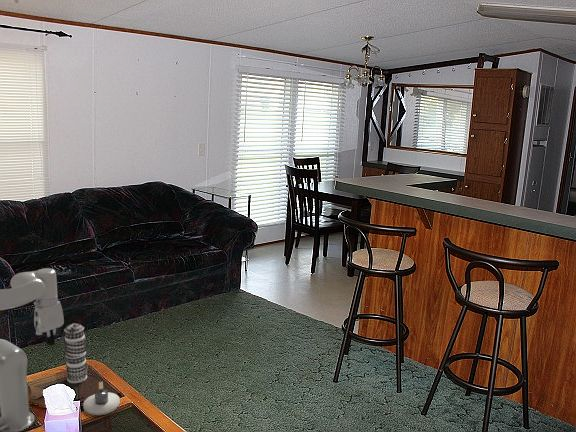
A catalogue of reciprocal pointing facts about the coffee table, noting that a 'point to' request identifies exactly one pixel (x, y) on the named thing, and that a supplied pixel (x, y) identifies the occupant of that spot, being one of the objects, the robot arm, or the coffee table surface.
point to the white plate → (103, 409)
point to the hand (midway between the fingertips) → (50, 344)
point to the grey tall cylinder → (75, 353)
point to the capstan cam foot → (101, 395)
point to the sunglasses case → (35, 395)
